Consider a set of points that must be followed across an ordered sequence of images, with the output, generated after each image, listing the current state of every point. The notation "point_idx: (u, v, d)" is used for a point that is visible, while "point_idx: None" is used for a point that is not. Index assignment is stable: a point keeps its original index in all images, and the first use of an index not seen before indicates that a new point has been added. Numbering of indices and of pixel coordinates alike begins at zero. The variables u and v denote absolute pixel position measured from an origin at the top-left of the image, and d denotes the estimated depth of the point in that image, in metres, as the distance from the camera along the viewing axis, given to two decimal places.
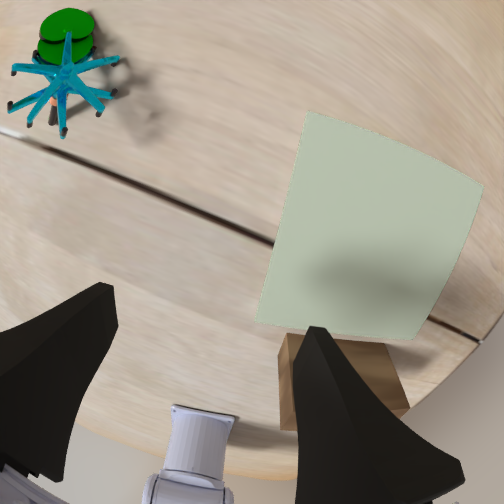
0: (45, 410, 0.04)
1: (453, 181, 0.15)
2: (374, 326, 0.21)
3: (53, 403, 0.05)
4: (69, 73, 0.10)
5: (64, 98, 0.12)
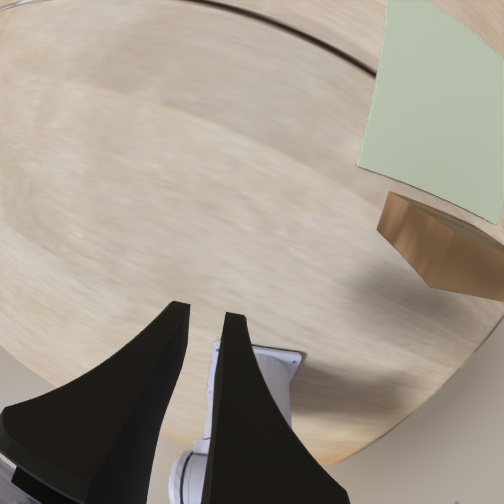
0: (142, 452, 0.05)
1: (500, 63, 0.10)
2: (468, 194, 0.16)
3: (146, 441, 0.05)
4: None
5: None
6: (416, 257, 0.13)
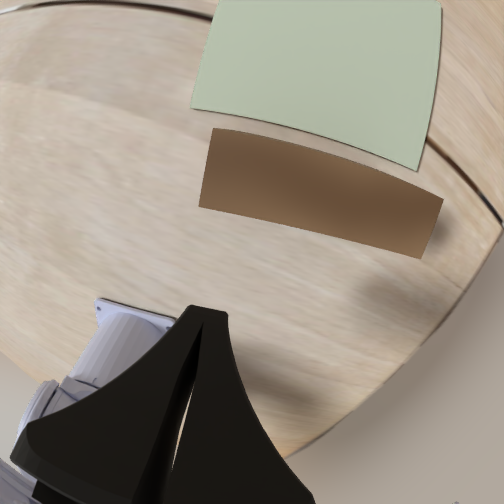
0: (166, 458, 0.05)
1: None
2: (354, 126, 0.15)
3: (169, 447, 0.05)
4: None
5: None
6: None
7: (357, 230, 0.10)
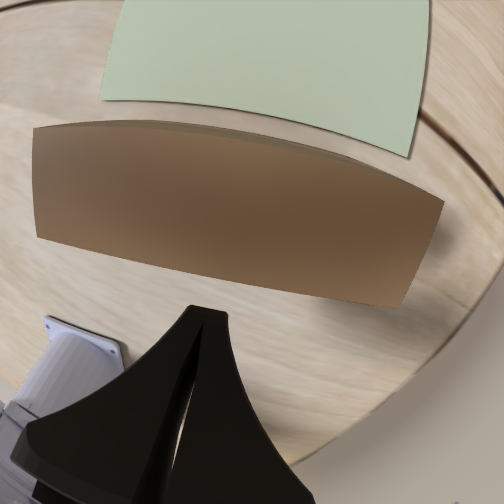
0: (166, 458, 0.05)
1: None
2: (310, 97, 0.11)
3: (169, 447, 0.05)
4: None
5: None
6: None
7: (263, 267, 0.06)
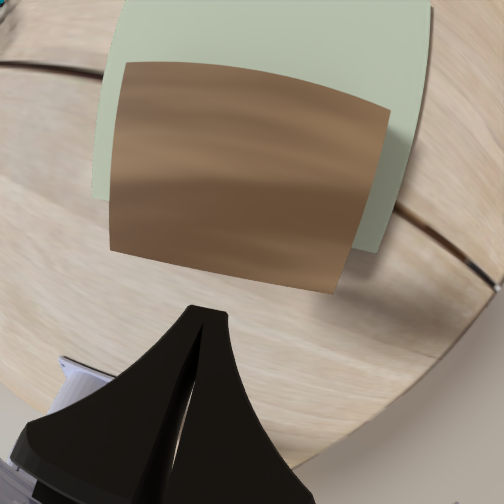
0: (166, 458, 0.05)
1: None
2: None
3: (169, 447, 0.05)
4: None
5: None
6: None
7: None
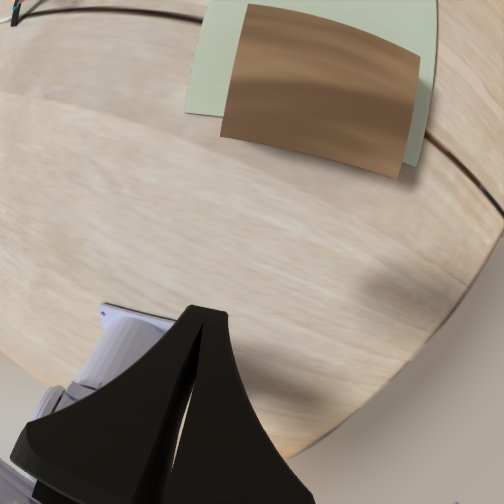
0: (166, 458, 0.05)
1: None
2: None
3: (169, 447, 0.05)
4: None
5: None
6: None
7: None
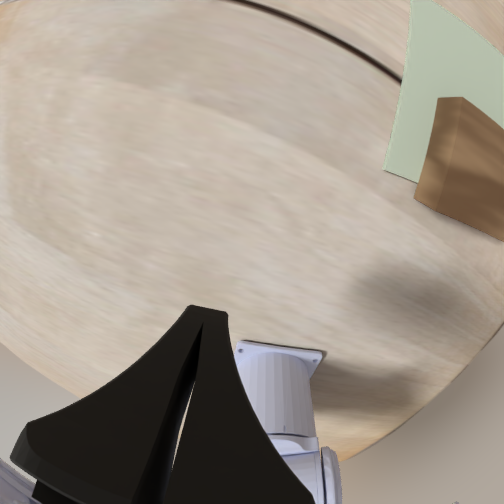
0: (166, 458, 0.05)
1: None
2: None
3: (169, 447, 0.05)
4: None
5: None
6: (452, 125, 0.12)
7: None
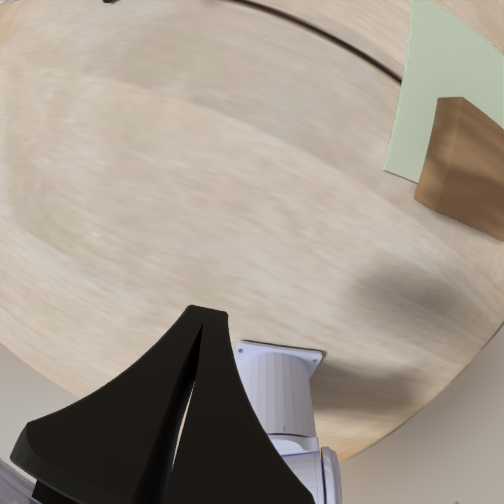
0: (166, 458, 0.05)
1: None
2: None
3: (169, 447, 0.05)
4: None
5: None
6: (452, 125, 0.12)
7: None
